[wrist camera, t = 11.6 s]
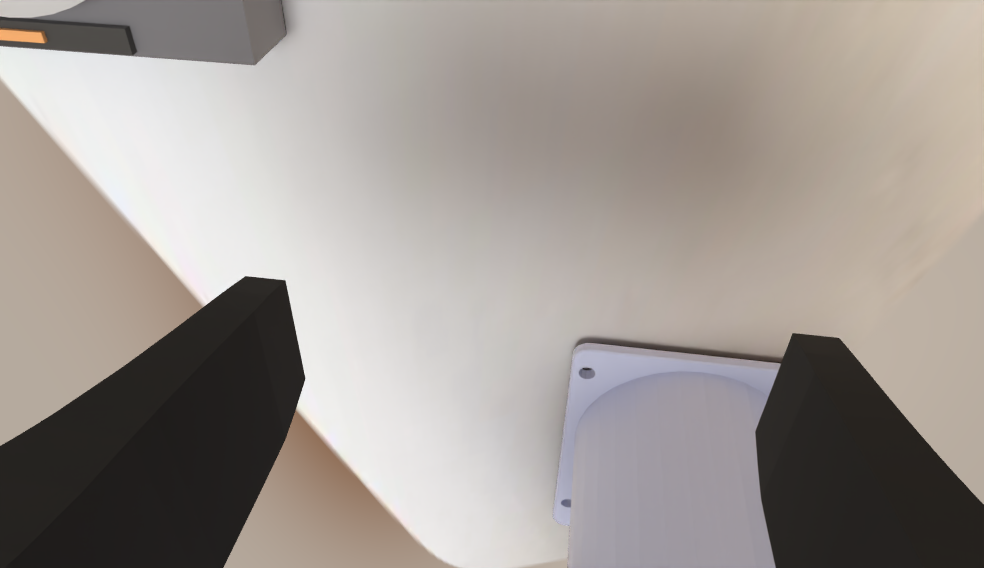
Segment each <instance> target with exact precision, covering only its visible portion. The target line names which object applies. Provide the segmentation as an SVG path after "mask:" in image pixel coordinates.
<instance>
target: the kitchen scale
mask: <svg viewBox="0 0 984 568" xmlns="http://www.w3.org/2000/svg"><path fill="white" fill-rule="evenodd" d="M285 36H286V29H285V23H284V17H283V10H282V4H281V0H0V46H5V47H18V48H32V49H45V50H58V51H72V52H85V53H98V54H112V55H125V56H138V57H152V58H165V59H178V60H192V61H205V62H218V63H232V64H245V65H256V64H257V63H258V62H259V61H260V60H261V59H262V58H263V57H264V56H265V55H266V54H267V53H268V52H269V51H270V50H271V49H272V48H273V47H274V46H275V45H276V44H277V43H278V42H279V41H280V40H282V39H283V38H284V37H285Z"/></svg>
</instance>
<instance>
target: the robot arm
mask: <svg viewBox="0 0 984 568" xmlns="http://www.w3.org/2000/svg"><path fill="white" fill-rule="evenodd" d="M586 367H588V368H591V369H592V370H583V369H582V368H586ZM304 381H305V375H304V370H303V365H302V360H301V355H300V350H299V345H298V340H297V335H296V331H295V326H294V321H293V316H292V311H291V306H290V301H289V296H288V291H287V286H286V281H285V280H276V279H267V278H257V277H247V276H245V277H244V278H243V279H241V280H240V281H238V282H237V283H235V284H234V285H232V286H231V287H230V288H228V289H227V290H226V291H224V292H223V293H222V294H220V295H219V296H218V297H216V298H215V299H214V300H212V301H211V302H210V303H208V304H207V305H206V306H204V307H203V308H202V309H200V310H199V311H198V312H197V313H195V314H194V315H193V316H191V317H190V318H189V319H187V320H186V321H185V322H183V323H182V324H181V325H179V326H178V327H177V328H175V329H174V330H173V331H171V332H170V333H169V334H167V335H166V336H165V337H163V338H162V339H160V340H159V341H158V342H157V343H155V344H154V345H152V346H151V347H150V348H148V349H147V350H146V351H144V352H143V353H141V354H140V355H139V356H137V357H136V358H135V359H133V360H132V361H131V362H129V363H128V364H126V365H125V366H124V367H122V368H121V369H119V370H118V371H116V372H115V373H113V374H112V375H110V376H109V377H108V378H106V379H104V380H103V381H101V382H100V383H98V384H97V385H95V386H94V387H93V388H91V389H90V390H88V391H87V392H85V393H84V394H82V395H81V396H79V397H78V398H77V399H75V400H73V401H72V402H70V403H69V404H67V405H66V406H64V407H63V408H61V409H60V410H59V411H57V412H56V413H54V414H53V415H51V416H49V417H48V418H46V419H44V420H43V421H41V422H40V423H38V424H36V425H35V426H33V427H32V428H30V429H28V430H27V431H25V432H23V433H22V434H20V435H18V436H17V437H15V438H13V439H12V440H10V441H8V442H7V443H5V444H3V445H1V446H0V568H223V567H224V565H225V563H226V561H227V559H228V557H229V555H230V553H231V551H232V549H233V547H234V545H235V543H236V541H237V539H238V536H239V534H240V532H241V530H242V528H243V526H244V524H245V522H246V520H247V518H248V516H249V514H250V512H251V510H252V508H253V506H254V504H255V502H256V500H257V498H258V495H259V494H260V491H261V489H262V487H263V485H264V483H265V481H266V479H267V477H268V475H269V472H270V471H271V469H272V467H273V464H274V462H275V460H276V458H277V456H278V454H279V452H280V450H281V448H282V445H283V443H284V441H285V439H286V436H287V433H288V430H289V427H290V424H291V422H292V419H293V416H294V413H295V410H296V407H297V404H298V400H299V397H300V394H301V391H302V388H303V385H304ZM553 519H554V520H555V521H556V522H557V523H559V524H562V525H567V526H570V530H569V547H568V564H567V568H984V504H982V502H980V501H979V499H978V498H977V497H976V496H975V495H974V494H973V493H972V492H971V491H970V490H969V489H968V487H967V486H966V485H965V484H964V483H963V482H962V481H961V480H960V479H959V478H958V477H957V476H956V475H955V473H954V472H953V471H952V470H951V469H950V468H949V467H948V466H947V465H946V463H945V462H944V461H943V460H942V459H941V458H940V457H939V456H938V455H937V453H936V452H935V451H934V450H933V449H932V448H931V446H930V445H929V444H928V443H927V442H926V441H925V440H924V438H923V437H922V436H921V435H920V434H919V433H918V432H917V430H916V429H915V428H914V427H913V426H912V424H911V423H910V422H909V421H908V420H907V419H906V417H905V416H904V415H903V414H902V413H901V412H900V410H899V409H898V408H897V407H896V406H895V404H894V403H893V402H892V401H891V400H890V399H889V397H888V396H887V395H886V394H885V393H884V391H883V390H882V389H881V388H880V386H879V385H878V384H877V383H876V382H875V380H874V379H873V378H872V377H871V375H870V374H869V373H868V372H867V371H866V369H865V368H864V367H863V366H862V365H861V363H860V362H859V361H858V360H857V359H856V357H855V356H854V355H853V354H852V353H851V351H850V350H849V349H848V348H847V347H846V345H845V344H844V343H843V342H842V341H841V340H840V339H839V338H834V337H824V336H815V335H805V334H795V333H793V334H792V336H791V339H790V342H789V344H788V347H787V350H786V352H785V355H784V357H783V360H782V363H772V362H762V361H753V360H744V359H735V358H725V357H716V356H707V355H698V354H688V353H679V352H670V351H661V350H651V349H642V348H633V347H624V346H614V345H605V344H596V343H583V344H580V345H578V346H577V347H576V348H575V349H574V352H573V357H572V365H571V373H570V381H569V389H568V397H567V405H566V413H565V421H564V429H563V437H562V445H561V453H560V461H559V469H558V477H557V485H556V492H555V500H554V508H553Z"/></svg>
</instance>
